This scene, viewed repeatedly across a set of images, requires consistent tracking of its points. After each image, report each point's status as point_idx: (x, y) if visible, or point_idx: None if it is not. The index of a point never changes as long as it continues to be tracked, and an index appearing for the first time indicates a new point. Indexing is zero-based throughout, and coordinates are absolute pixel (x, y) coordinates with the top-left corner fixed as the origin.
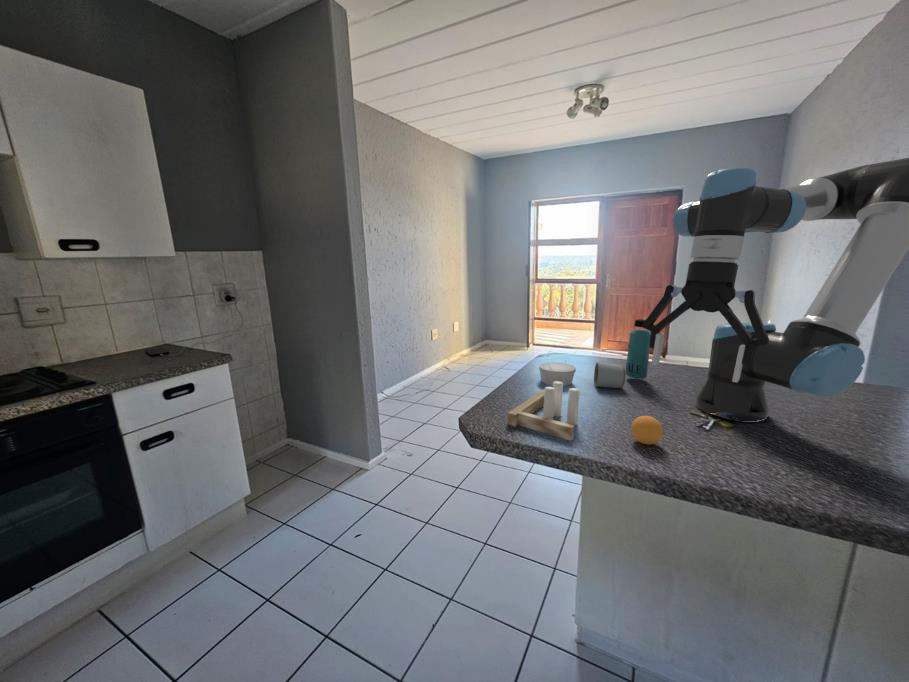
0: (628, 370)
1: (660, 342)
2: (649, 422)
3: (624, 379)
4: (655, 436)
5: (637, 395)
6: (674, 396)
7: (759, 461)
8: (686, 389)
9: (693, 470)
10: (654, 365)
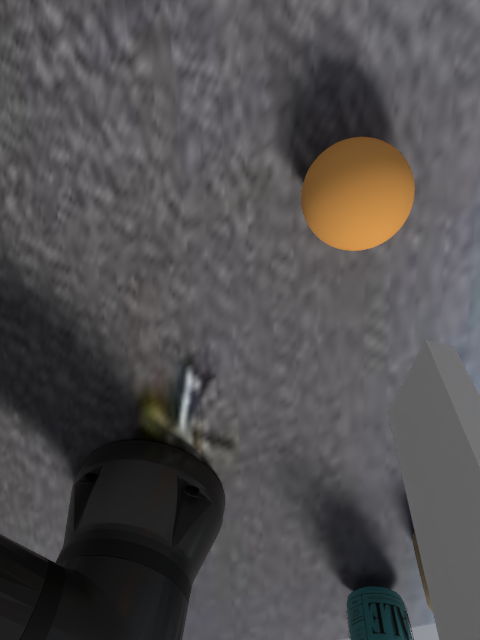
0: (402, 613)
1: (465, 539)
2: (357, 173)
3: (418, 553)
4: (325, 150)
5: (368, 502)
6: (274, 525)
7: (61, 239)
8: (249, 568)
9: (200, 58)
10: (431, 341)
